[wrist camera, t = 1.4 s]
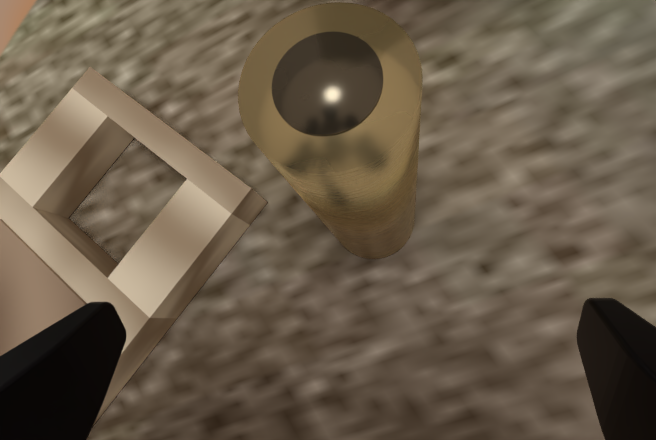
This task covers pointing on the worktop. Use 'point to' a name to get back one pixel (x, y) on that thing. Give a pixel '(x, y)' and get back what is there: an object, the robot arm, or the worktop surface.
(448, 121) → the worktop surface
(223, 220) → the jig plate
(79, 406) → the robot arm
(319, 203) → the cylinder
